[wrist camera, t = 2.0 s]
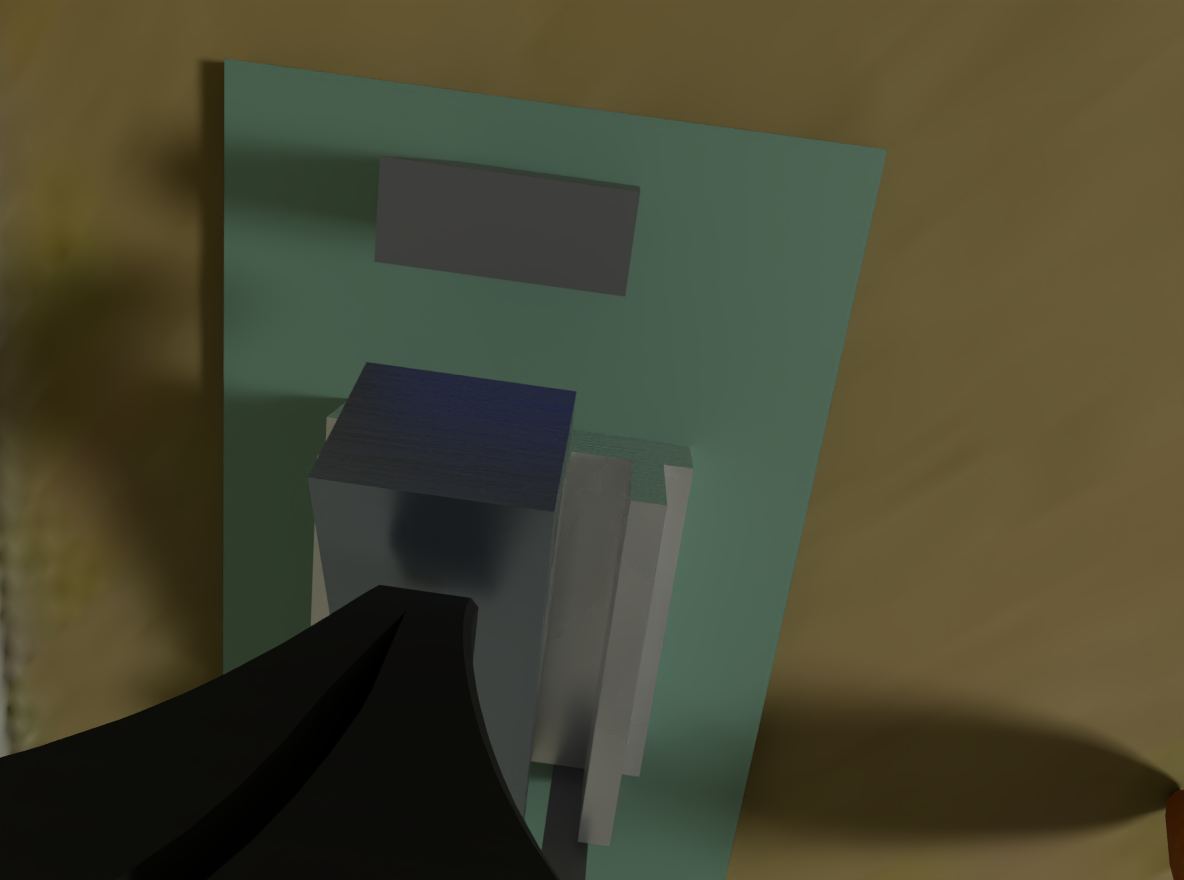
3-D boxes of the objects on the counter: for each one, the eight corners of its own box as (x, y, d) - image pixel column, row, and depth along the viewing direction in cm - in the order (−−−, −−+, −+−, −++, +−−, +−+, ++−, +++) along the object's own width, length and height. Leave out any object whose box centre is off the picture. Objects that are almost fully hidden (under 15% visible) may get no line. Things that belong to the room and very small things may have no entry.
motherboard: (717, 880, 25) (719, 903, 24) (235, 810, 25) (222, 830, 24) (877, 150, 19) (887, 149, 18) (240, 63, 19) (224, 58, 18)
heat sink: (639, 735, 23) (639, 850, 19) (335, 692, 23) (274, 797, 19) (689, 446, 20) (701, 510, 16) (350, 398, 20) (283, 451, 16)
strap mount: (589, 783, 23) (573, 967, 18) (373, 752, 23) (294, 927, 18) (681, 191, 18) (699, 200, 13) (412, 154, 19) (321, 148, 13)
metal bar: (529, 810, 20) (510, 933, 18) (404, 792, 20) (371, 913, 18) (576, 391, 12) (551, 530, 10) (366, 361, 12) (298, 494, 10)
